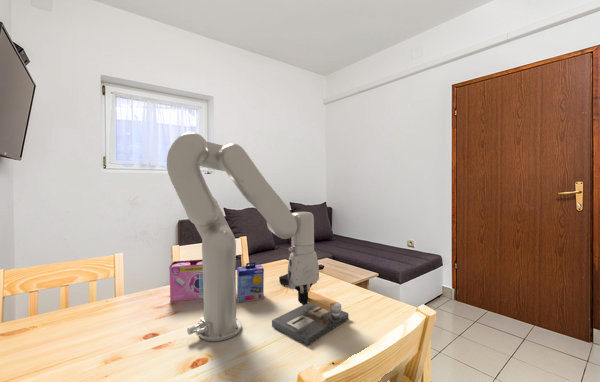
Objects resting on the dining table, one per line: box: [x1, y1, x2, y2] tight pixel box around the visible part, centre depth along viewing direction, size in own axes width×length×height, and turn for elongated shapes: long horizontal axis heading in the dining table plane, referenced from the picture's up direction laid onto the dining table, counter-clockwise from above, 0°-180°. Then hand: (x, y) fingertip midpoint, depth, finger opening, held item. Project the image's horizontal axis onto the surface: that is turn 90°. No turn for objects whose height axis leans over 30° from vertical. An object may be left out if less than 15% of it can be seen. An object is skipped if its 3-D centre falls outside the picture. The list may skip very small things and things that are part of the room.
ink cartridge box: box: [236, 261, 265, 303], centre depth 106 cm, size 10×6×14 cm, turn 111°
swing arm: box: [308, 290, 342, 313], centre depth 91 cm, size 4×15×2 cm, turn 43°
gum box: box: [168, 259, 203, 302], centre depth 109 cm, size 24×8×14 cm, turn 103°
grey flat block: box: [271, 302, 349, 347], centre depth 87 cm, size 20×15×4 cm
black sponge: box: [279, 273, 289, 286], centre depth 125 cm, size 16×8×4 cm, turn 143°
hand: (303, 302), depth 92 cm, fingers closed
